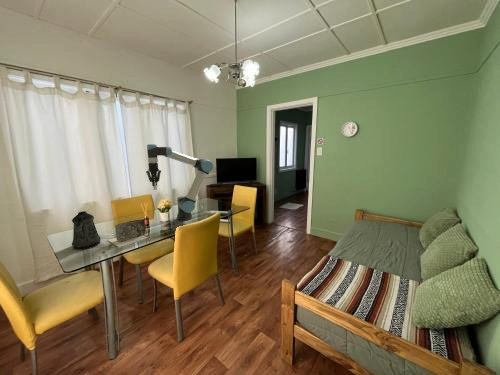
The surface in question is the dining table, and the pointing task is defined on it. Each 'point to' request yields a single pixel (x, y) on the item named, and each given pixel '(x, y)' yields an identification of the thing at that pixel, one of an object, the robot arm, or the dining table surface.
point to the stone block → (130, 230)
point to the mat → (127, 241)
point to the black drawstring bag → (84, 232)
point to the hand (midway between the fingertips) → (155, 189)
